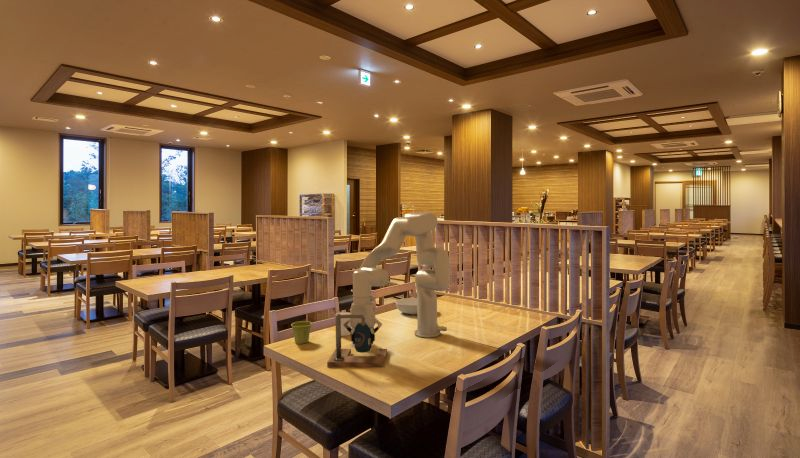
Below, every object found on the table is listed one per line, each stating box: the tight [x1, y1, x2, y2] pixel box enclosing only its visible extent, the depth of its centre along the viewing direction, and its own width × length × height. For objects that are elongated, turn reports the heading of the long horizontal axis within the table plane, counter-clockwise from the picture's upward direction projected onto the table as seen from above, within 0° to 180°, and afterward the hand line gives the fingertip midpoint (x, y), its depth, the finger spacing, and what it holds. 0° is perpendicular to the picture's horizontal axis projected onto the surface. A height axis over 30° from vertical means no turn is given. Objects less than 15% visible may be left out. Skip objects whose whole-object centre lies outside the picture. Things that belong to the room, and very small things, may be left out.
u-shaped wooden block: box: [326, 348, 388, 368], centre depth 176 cm, size 22×16×2 cm
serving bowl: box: [395, 297, 417, 316], centre depth 253 cm, size 21×21×7 cm
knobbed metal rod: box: [334, 313, 365, 361], centre depth 171 cm, size 13×4×18 cm, turn 87°
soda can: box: [354, 323, 373, 354], centre depth 179 cm, size 7×7×12 cm
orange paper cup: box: [335, 311, 352, 337], centre depth 212 cm, size 8×8×10 cm
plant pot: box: [290, 320, 313, 345], centre depth 201 cm, size 9×9×9 cm
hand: (363, 342), depth 179 cm, fingers closed on soda can, 6 cm apart
